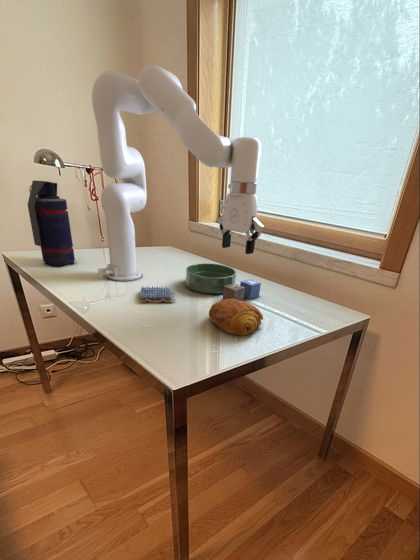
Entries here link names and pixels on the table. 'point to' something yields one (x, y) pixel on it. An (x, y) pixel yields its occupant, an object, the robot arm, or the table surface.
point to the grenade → (50, 223)
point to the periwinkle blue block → (251, 288)
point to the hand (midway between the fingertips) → (237, 250)
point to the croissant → (235, 316)
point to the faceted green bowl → (209, 277)
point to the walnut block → (233, 292)
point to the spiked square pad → (156, 294)
